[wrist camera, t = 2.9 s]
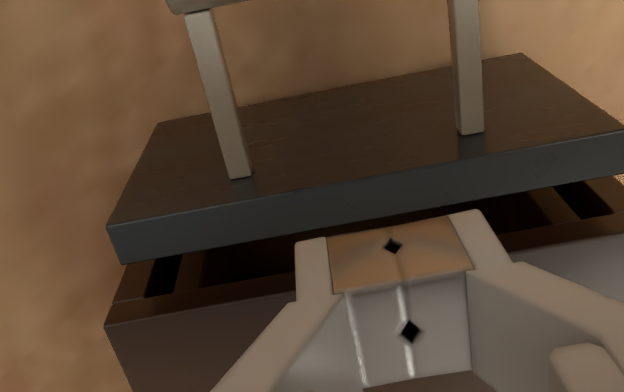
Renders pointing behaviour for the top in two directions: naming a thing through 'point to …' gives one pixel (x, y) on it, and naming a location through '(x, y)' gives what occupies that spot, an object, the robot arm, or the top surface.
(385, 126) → the drawer
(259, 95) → the top surface
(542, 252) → the cabinet
